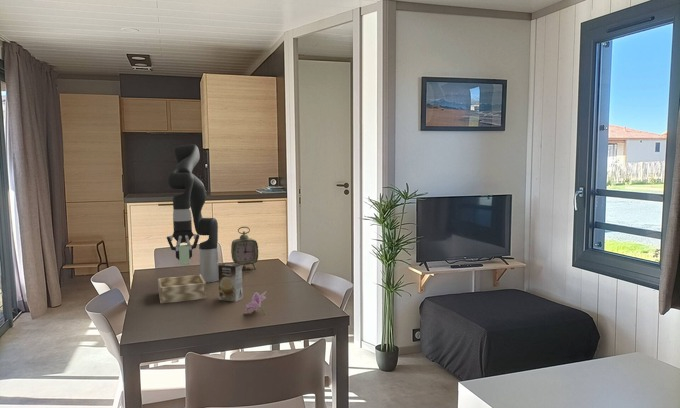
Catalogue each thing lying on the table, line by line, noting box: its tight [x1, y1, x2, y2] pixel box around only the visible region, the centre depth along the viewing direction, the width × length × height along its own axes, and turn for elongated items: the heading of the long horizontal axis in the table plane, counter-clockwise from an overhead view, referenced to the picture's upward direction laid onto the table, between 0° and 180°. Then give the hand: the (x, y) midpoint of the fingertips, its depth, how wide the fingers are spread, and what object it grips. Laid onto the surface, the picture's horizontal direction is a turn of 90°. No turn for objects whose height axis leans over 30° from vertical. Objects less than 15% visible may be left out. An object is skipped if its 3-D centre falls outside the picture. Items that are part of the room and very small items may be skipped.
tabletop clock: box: [230, 226, 259, 270], centre depth 295 cm, size 14×9×25 cm, turn 111°
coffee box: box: [218, 262, 243, 302], centre depth 230 cm, size 9×6×16 cm
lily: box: [243, 290, 267, 316], centre depth 208 cm, size 12×12×10 cm
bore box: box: [157, 274, 208, 304], centre depth 238 cm, size 20×20×7 cm
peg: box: [178, 244, 190, 266], centre depth 219 cm, size 4×4×8 cm
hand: (184, 258), depth 219 cm, fingers closed on peg, 4 cm apart
